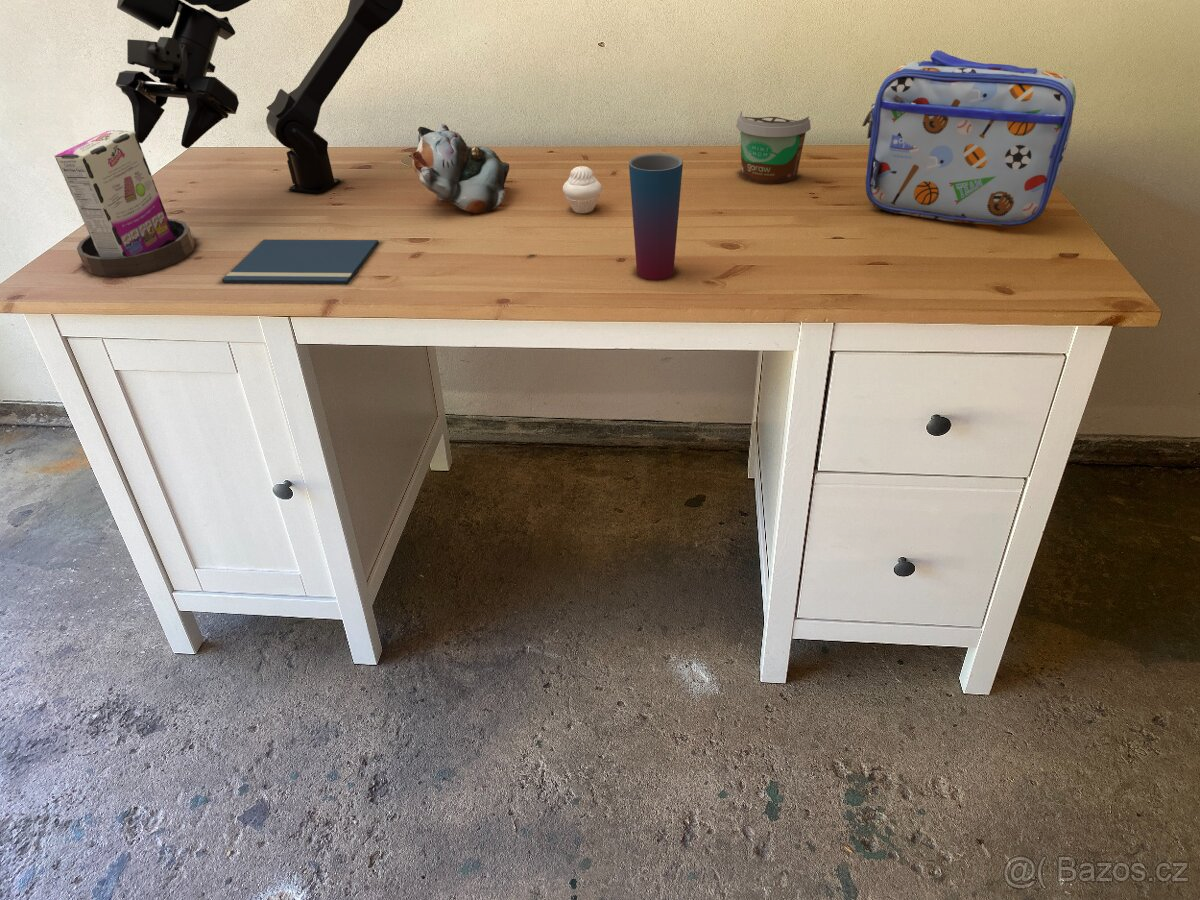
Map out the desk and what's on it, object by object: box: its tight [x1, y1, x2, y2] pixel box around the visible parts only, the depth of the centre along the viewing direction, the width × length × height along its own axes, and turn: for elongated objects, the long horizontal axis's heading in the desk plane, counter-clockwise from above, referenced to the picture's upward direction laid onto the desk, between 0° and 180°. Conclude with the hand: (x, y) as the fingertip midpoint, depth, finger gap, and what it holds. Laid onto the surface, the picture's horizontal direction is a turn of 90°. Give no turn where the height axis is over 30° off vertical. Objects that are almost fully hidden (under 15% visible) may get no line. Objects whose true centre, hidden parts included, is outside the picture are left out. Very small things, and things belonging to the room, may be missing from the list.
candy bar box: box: [54, 129, 175, 257], centre depth 120 cm, size 11×5×16 cm, turn 168°
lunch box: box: [861, 49, 1077, 227], centre depth 120 cm, size 28×10×22 cm, turn 62°
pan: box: [76, 218, 195, 278], centre depth 124 cm, size 15×15×3 cm
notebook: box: [221, 239, 379, 285], centre depth 120 cm, size 18×14×1 cm
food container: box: [735, 110, 812, 185], centre depth 138 cm, size 12×6×10 cm, turn 68°
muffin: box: [562, 165, 603, 214], centre depth 131 cm, size 6×6×7 cm
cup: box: [628, 152, 684, 281], centre depth 109 cm, size 7×7×15 cm
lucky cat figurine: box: [410, 123, 510, 215], centre depth 134 cm, size 15×12×14 cm
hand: (161, 144), depth 124 cm, fingers open, 9 cm apart
